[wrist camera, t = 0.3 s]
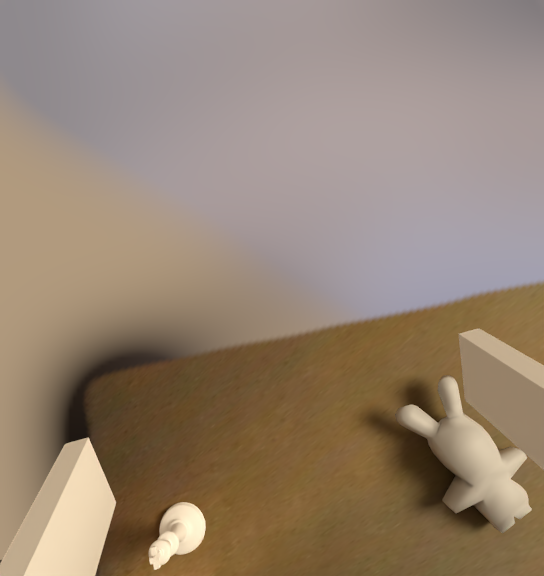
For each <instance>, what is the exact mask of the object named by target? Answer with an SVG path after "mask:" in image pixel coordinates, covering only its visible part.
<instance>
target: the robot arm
mask: <svg viewBox="0 0 544 576" xmlns="http://www.w3.org/2000/svg"><path fill="white" fill-rule="evenodd" d="M459 342H460V353H461V363H462V373H463V383H464V394H465V401H467V402H468V403H469V404H470V405H471V406H472V407H473V408H474V409H476V410H477V411H478V412H479V413H480V414H481V415H482V416H483V417H485V418H486V419H487V420H488V421H489V422H490V423H491V424H492V425H494V426H495V427H496V428H497V429H498V430H499V431H500V432H501V433H503V434H504V435H505V436H506V437H507V438H508V439H509V440H510V441H512V442H513V443H514V444H515V445H516V446H517V447H518V448H519V449H521V450H522V451H523V452H524V453H525V454H526V455H527V456H528V457H530V458H531V459H532V460H533V461H534V462H535V463H536V464H537V465H539V466H540V467H541V468H542V469H543V470H544V366H543V365H542V364H540V363H538V362H536V361H535V360H533V359H531V358H530V357H528V356H526V355H524V354H523V353H521V352H519V351H517V350H516V349H514V348H512V347H510V346H509V345H507V344H505V343H503V342H502V341H500V340H498V339H496V338H495V337H493V336H491V335H489V334H488V333H486V332H484V331H483V330H481V329H479V328H478V329H475V330H471V331H467V332H464V333H460V334H459ZM115 505H116V501H115V499H114V496H113V494H112V492H111V489H110V487H109V485H108V482H107V480H106V478H105V475H104V473H103V470H102V468H101V466H100V463H99V461H98V459H97V456H96V454H95V452H94V449H93V447H92V445H91V442H90V440H89V438H85V439H81V440H78V441H74V442H70V443H67V444H65V445H64V447H63V449H62V451H61V452H60V455H59V456H58V458H57V460H56V462H55V464H54V465H53V467H52V469H51V471H50V473H49V475H48V477H47V478H46V480H45V482H44V484H43V486H42V488H41V489H40V491H39V493H38V495H37V497H36V499H35V500H34V502H33V504H32V506H31V508H30V510H29V511H28V513H27V515H26V517H25V519H24V521H23V523H22V525H21V526H20V528H19V530H18V532H17V534H16V535H15V537H14V539H13V541H12V543H11V545H10V546H9V548H8V550H7V552H6V554H5V556H4V558H3V559H2V560H0V576H95V574H96V570H97V567H98V563H99V560H100V556H101V553H102V549H103V546H104V543H105V539H106V536H107V532H108V529H109V525H110V522H111V518H112V515H113V512H114V508H115Z"/></svg>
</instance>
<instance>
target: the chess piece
mask: <svg viewBox="0 0 544 576" xmlns="http://www.w3.org/2000/svg"><path fill="white" fill-rule="evenodd" d="M159 533H160V536H159V538H158V540H157V541H155V542H154V543H153V544H152V545H151V546H150V549H149V558H150V559H149V560H150V565H151V564H153V566H154V570H156V569H158V568H160V567H161V565H163V564H165V563H166V562H167V561H168V560H169V558H170V556H172V555H174V554H179V555H182V554H187V553H189V552H191V551H193V550H194V549H195V548H197V547H198V546H199V544H200V543H201V541H202V539H203V537H204V534H205V519H204V516H203V514H202V512H201V511H200V510H199V509H198V508H197V507H196V506H195V505H193V504H191V503H187V502H181V503H177V504H175V505H173V506H172V507H170V508H169V509H168V510H167V511H166V513H165V514H164V516H163V518H162V520H161V523H160V529H159Z"/></svg>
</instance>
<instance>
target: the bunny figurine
mask: <svg viewBox="0 0 544 576" xmlns="http://www.w3.org/2000/svg"><path fill="white" fill-rule="evenodd" d="M438 392H439V395H440V398H441V401H442V403H443V406H444V409H445V411H446V414H447V417H445V418H443V419H441V420H440V421H439V422H436V421H435V420H434V419H433V418H431V417H430V416H429V415H428V414H426V413H425V412H424V411H423V410H421V409H420V408H419V407H418V406H415V405H407V406H404V407H401V408H399V409H398V410H397V412H396V414H395V417H396V421H397V422H398V423H399V424H400V425H401V426H403V427H405V428H407V429H409V430H411V431H413V432H415V433H417V434H419V435H420V436H422V437H424V438H426V439H428V445H429V447H430V449H431V450H432V452H433V454H434V455H435V456H436V457H437V458H438V460H439V461H440V462H441V463H442V464H443V465H444V466H445V467H446V468H447V469H449V470H450V471H451V472H452V473H454V474H455V477H454V479H453V481H452V483H451V485H450V486H449V488H448V490H447V492H446V494H445V496H444V497H443V499H442V501H443V502H444V503H445V504H446V505H447V506H448V507H449V508H450V509H451V510H453V511H454V512H455V513H458V512H460V511H462V510H464V509H466V508H468V507H470V506H472V505H474V506H475V507H476V509H477V510H478V511H479V512H480V513H481V514H482V515H483V516H484V517H486V518H487V519H488V520H489V521H490V522H491V524H492V525H493V526H494V527H495V528H496V529H497V530H499V531H500V532H502V533H504V532H505V531H506V530H507V529H509V528H510V527H511V526H512V525H514V524H515V522H514V517H516V518H518V519H521V518H522V517H524V516H525V515H526V514H527V513H529V512H530V511H531V510H532V509H531V507H530V506H529V504H528V496H527V493H526V491H525V490H524V489H523V488H522V487H521V486H520V485H519V484H517V483H516V482H514V481H513V480H511V477H512V476H513V475H514V473H515V472H516V471H517V470H518V469H519V467H520V466H521V465H522V464H523V462H524V461H525V460H526V459H527V457H526V455H525V453H524V452H523V451H522V450H519V449H516V448H513V447H508V448H505V449H501V450H498V449H497V447H496V445H495V443H494V442H493V440H492V439H491V437H490V435H489V434H488V433H487V432H486V431H485V430H484V428H483V427H482V426H480V425H479V424H478V423H476V422H475V421H473V420H472V419H471V418H469V417H468V416H467V415H465V414H464V413H463V411H462V406H461V401H460V395H459V390H458V385H457V382H456V381H455V379H454V378H453V377H451V376H449V375H446V376H443V377H442V378H441V379H440V380H439V383H438Z"/></svg>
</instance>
